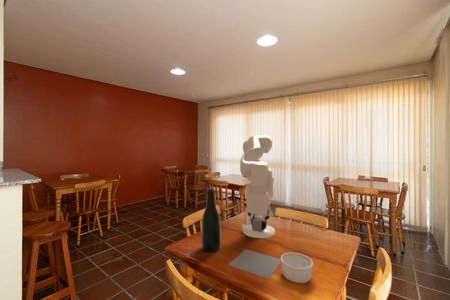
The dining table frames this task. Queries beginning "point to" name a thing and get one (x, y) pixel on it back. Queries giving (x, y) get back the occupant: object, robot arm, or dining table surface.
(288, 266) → the ramekin
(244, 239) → the dining table surface
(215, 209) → the green wine bottle
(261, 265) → the mat
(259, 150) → the robot arm
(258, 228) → the lid
